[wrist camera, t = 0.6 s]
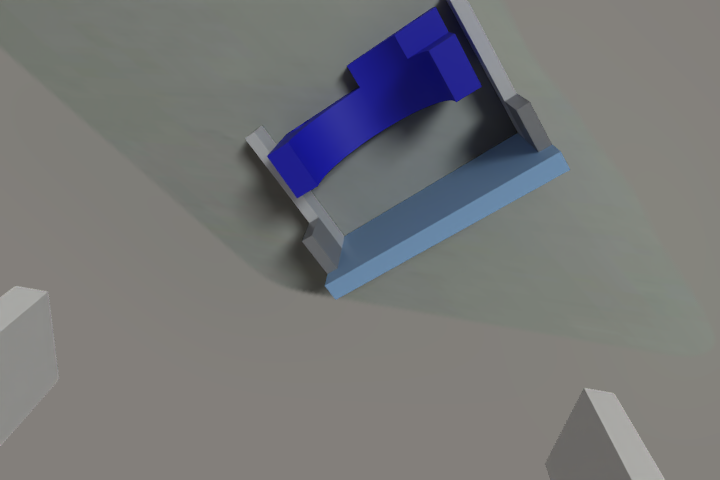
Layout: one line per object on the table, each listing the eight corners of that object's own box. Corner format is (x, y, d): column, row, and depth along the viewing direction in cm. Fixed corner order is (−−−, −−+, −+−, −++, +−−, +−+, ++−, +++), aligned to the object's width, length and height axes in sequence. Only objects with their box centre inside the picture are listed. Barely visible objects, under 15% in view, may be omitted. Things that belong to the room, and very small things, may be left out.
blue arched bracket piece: (431, 8, 29) (440, 5, 24) (466, 74, 31) (482, 86, 25) (274, 114, 32) (250, 133, 27) (312, 169, 34) (297, 198, 28)
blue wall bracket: (253, 131, 33) (222, 157, 27) (454, -14, 28) (471, -22, 22) (344, 253, 36) (335, 299, 30) (537, 141, 32) (570, 169, 26)
